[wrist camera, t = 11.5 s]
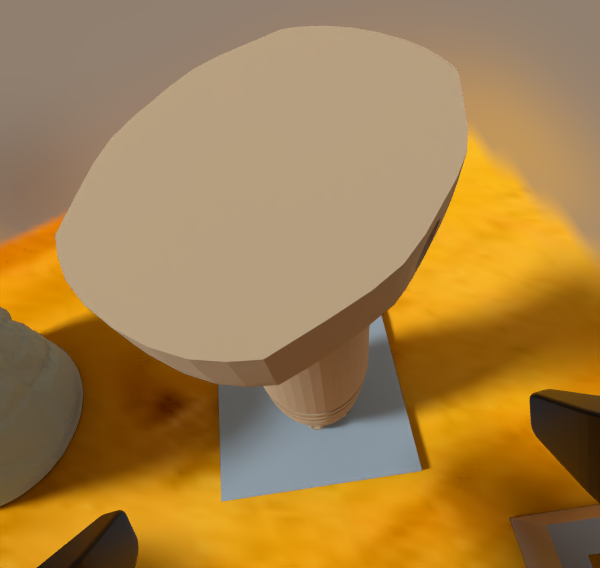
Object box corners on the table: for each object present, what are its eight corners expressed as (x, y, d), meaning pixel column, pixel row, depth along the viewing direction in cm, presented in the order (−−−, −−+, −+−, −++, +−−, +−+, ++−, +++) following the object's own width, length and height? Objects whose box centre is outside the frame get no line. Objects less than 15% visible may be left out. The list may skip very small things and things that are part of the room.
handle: (392, 364, 19) (520, 62, 6) (329, 488, 16) (302, 455, 3) (310, 321, 20) (263, 8, 7) (241, 428, 18) (-17, 242, 5)
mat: (419, 471, 17) (421, 470, 16) (224, 500, 17) (221, 501, 16) (374, 296, 21) (375, 292, 21) (218, 319, 21) (216, 316, 21)
